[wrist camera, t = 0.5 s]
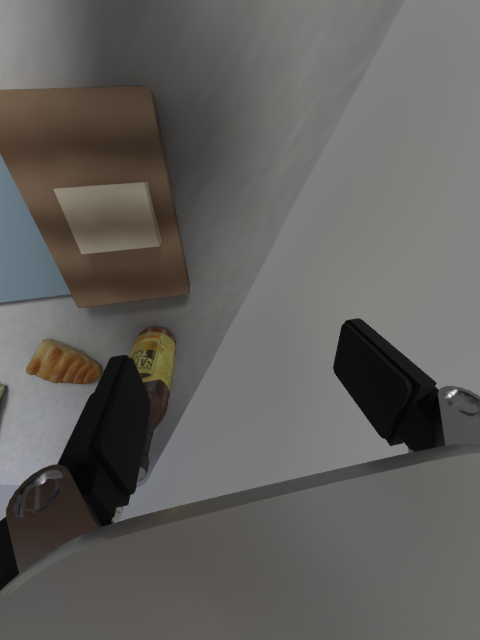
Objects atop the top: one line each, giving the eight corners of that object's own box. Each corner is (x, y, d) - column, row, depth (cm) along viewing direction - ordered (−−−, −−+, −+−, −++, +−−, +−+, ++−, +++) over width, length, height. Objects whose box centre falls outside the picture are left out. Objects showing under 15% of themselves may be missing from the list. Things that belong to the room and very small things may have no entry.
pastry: (110, 356, 38) (103, 373, 35) (95, 382, 40) (86, 400, 37) (44, 333, 34) (29, 350, 31) (31, 363, 36) (15, 382, 33)
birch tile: (63, 187, 23) (53, 188, 21) (147, 181, 24) (143, 182, 22) (88, 249, 26) (81, 254, 24) (161, 241, 27) (159, 246, 25)
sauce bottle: (158, 317, 35) (128, 445, 19) (184, 343, 39) (178, 470, 22) (125, 339, 36) (69, 478, 20) (153, 362, 40) (125, 497, 23)
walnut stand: (-5, 100, 21) (-32, 90, 18) (153, 95, 22) (148, 85, 20) (87, 297, 32) (78, 308, 29) (189, 284, 33) (189, 293, 31)
